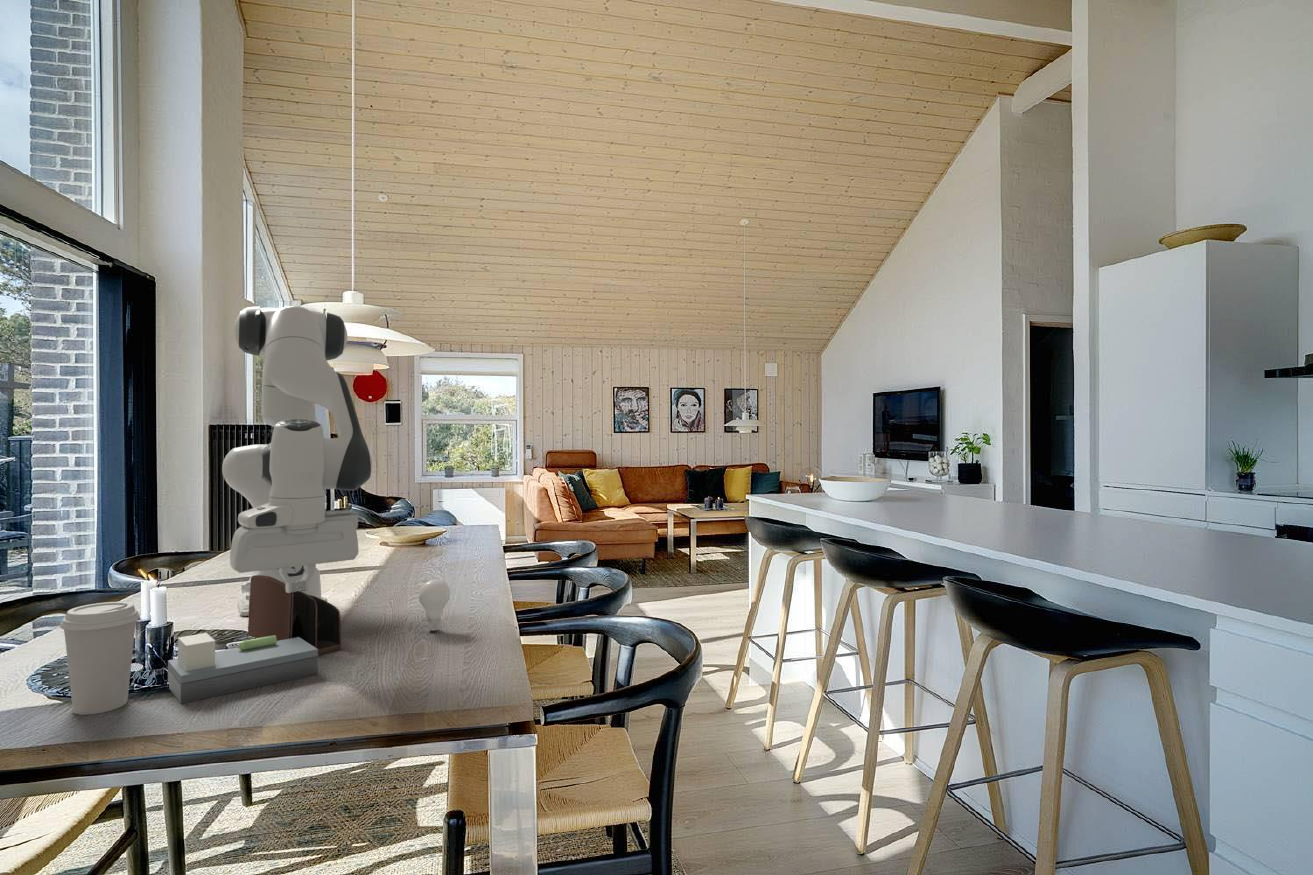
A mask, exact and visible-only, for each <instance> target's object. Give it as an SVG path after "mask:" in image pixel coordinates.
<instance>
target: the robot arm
mask: <svg viewBox="0 0 1313 875" xmlns="http://www.w3.org/2000/svg"><path fill="white" fill-rule="evenodd" d="M233 327H234V328H233V334H234V337H235V340H236V343H237V344H238V347H239V349H241V350H242V351H243V352H244V353H246V354H249V355H252V356H258V357H259V356H260V355H261V356H264V364H263V368H262V369H263V370H262V376H261V377H262V379H261V380H262V381H261V408H260V410H261V412H260V414H261V417H262V419H263V421H264V422H265V423H266V424H267V425H268V426H271V427H273V430H272V436H271V442H269V443H267V444H265V443H264V444H263V443H262V444H258V443H256V444H250V445H242V446H238V447H233V448H232V449H230V451H229V452H228V453H227V454H226V455H225V457H224V459H223V461H222V468H221V472H222V477H223V480H224V481H225V482H226V484H227V485H228V486H229V487H230V488H231V489H233V490H234V491H235V492H237V493H239V494H240V495H241V496H242V497H244V498H245V499H246V500H247V501H248V502H249V504H250V505H251V507H252V508H250V509H246V510H244V511H241V512H239V514H238V516H237V522H238V524H239V525H241V526H239V527H238V528H237V529H236V530H235V531H234V533H233V536H232V540H231V545H230V554H229V565H230V567H231V568H232V570H233V571H235V572H237V573H239V574H241V573H242V574H243V573H244V574H245V573H252V572H253V573H252V574H251V576H250V577H249V578H248V581H246V582H243V583H241V593H242V594H246V595H245V597H242V598H239V599H237V608H238V612H239V616H242V617H247V616H248V617H249V599H250V583H251V577H252V576H255V575H264V576H270V577H273V578H275V579H277V580H279V581H281V582H283V583H285V590H286V592H287V593H292V592H297V591H302V592H304V593H305V594H307V595H312V596H315V597H318V598H320V599H323V600H325V601H327V602H328V598H326V597H322V585H321V584H322V583H321V571H320V569H318V568H317V566H316V565H320V564H321V565H322V564H329V563H337V562H346V561H354V560H355V559H356V558H357V557H358V555H359V541H358V540H359V539H358V534H357V530H358V528H359V518H358V515H357V514H356V513H355V512H354V511H351V510H350V509H349V508H348V509H346V508H344V509H340V510H337V509H330V510H326V507H327V506H326V503H327V502H326V496H327V495H326V494H327V493H326V490H334V489H335V490H336V491H337V490H338V491H339V490H340V491H341V490H342V491H356V490H358V489H359V488H361V487H362V486H363V485H364V484H366V482H368V480H369V479H371V477H372V476H371V475H372V469H373V460H372V455H371V452H370V450H369V447H368V446H369V445H368V444H367V442H366V439H365V437H364V435H363V432H362V428H361V425H360V421H359V418H358V414H357V410H356V408H355V404H354V401H353V398H352V395H351V392H350V389H349V386H348V384H347V381H346V379H345V377H344V376H343V374H341V373H339V371H336V370H335V369H333V368H332V366H331V365H330V364H329V362H328V361H331V360H335V359H338V358H339V357H340V356H341V355H343V353H344V350H345V349H346V348H347V347H346V346H347V343H348V330H347V328H346V325H345V322H344V320H343V319H342V317H341V316H339V315H336V314H334V313H330V312H321V311H320V312H319V311H315V310H309V309H308V308H305V307H303V306H299V305H287V306H283V307H261V306H248V307H245V308H243V309H242V310H241V311H239V314H238V316H237V317H236V320H235V321H234V326H233ZM316 404H317V405H319V406H320V407H322V408H323V407H324V408H325V409H326V410H327V411H329V413H330V414H331V416H332V419H333V422H334V426H335V429H336V434H337V436H338V437H335V438H334V437H333V438H332V437H331V438H329V437H328V438H327V437H325V436H324V430H323V427H322V424H320V423H318V421H317V414H316Z"/></svg>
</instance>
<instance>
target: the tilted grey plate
mask: <svg viewBox="0 0 1313 875" xmlns="http://www.w3.org/2000/svg"><path fill="white" fill-rule="evenodd" d="M237 646H238V647H235V648H229V649H226V650H225V649H224V650H219V651H216V639H214V638H213V637H212V636H210V635H209V633H206V632H204V633H198V634H193V635H185V636H181V637H178V638H177V658H176V659H169V660H167V670H168V669H169V670H170V671H171V672H172V674H173V675H174V676H175V677H176V678H177V680H178V681H179V682H180V683H181V684H182V683H187V682H192V681H197V680H202V679H207V678H212V677H217V676H222V675H227V674H232V673H237V672H241V671H246V670H251V669H256V668H261V667H266V666H271V665H276V664H281V663H286V662H291V661H296V660H301V659H306V658H311V657H316V656H319V655H318V649H317V648H315V647H314V646H312V645H311V644H309V643H307V642H306V641H304V640H303V639H301V638H300V637H296V638H291V639H285V640H279V641H277V638H276V635H273V636H267V637H262V638H256V639H250V640H248V639H244V640H241V641H240V642H239V643H238V645H237Z"/></svg>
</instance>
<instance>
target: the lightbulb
mask: <svg viewBox="0 0 1313 875" xmlns="http://www.w3.org/2000/svg"><path fill="white" fill-rule="evenodd" d="M450 597H451V590H450V587H449V586H448V584H447V583H446V582H445V581H443V580H441V579H437V578H434V579H430V580H427V581H425V582H424V583H423V584H422V585H421V587H420V588H419V591H418V600H419V602H420V605H421V606H422V608H423V609H424V610H425V616H426V618H427V630H428V631H429V632H432V633H435V632H436V633H437V632H438V631H439V630H441V629H442V626H441V625H442V624H441V623H442V622H441V618H442V615H443V612H444V609H445V607H446V605H447V604H448V602H449V601H450V599H451V598H450Z"/></svg>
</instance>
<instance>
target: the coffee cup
mask: <svg viewBox="0 0 1313 875" xmlns="http://www.w3.org/2000/svg"><path fill="white" fill-rule="evenodd" d="M140 618H141V616H140V612H139V611H138V609H136V608H135V605H134V603H133V602H131V601H130V602H128V601H109V602H108V601H107V602H106V601H105V602H97V603H91V604H86V605H80V606H77V607H73V608H71V609H69V610H67V612H66V615H65V617H64V618H62V619H61V621H60V625H59V628H60V629H62V630H63V632H64V641H65V651H66V658H67V667H68V668H67V669H68V678H69V687H70V697H71V698H70V699H71V707H72V713H73V714H75V715H80V716H81V715H82V716H85V715H86V716H88V715H98V714H103V713H107V712H108V713H109V712H111V711H115V710H118V709H120V708H122V707H123V706H125V705H127V703H128V698H129V689H130V677H131V670H132V661H133V650H134V643H135V642H134V641H135V634H136V624H137V621H138V620H139V619H140Z"/></svg>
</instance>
